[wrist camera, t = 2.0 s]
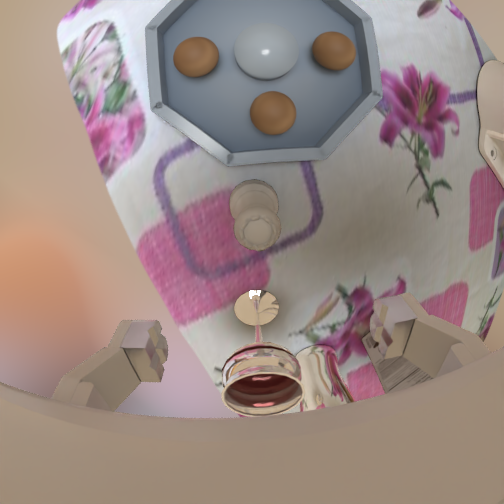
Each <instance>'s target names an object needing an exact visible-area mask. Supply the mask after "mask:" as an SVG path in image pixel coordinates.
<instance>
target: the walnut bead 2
mask: <svg viewBox="0 0 504 504" xmlns="http://www.w3.org/2000/svg"><path fill="white" fill-rule="evenodd" d="M250 118H251V121H252V123H253V124H254V126H255V127H256V128H257V129H258V130H260V131H261V132H263V133H265V134H269V135H278V134H282V133H284V132H286V131H287V130H289V129H290V128H291V127H292V126H293V124H294V122H295V120H296V107H295V105H294V103H293V101H292V100H291V99H290V98H289V97H288V96H287V95H285V94H283V93H281V92H277V91H268V92H265V93H262V94H260V95H259V96H257V97H256V98H255V100H254V101H253V102H252V104H251V107H250Z"/></svg>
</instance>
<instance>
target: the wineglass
mask: <svg viewBox="0 0 504 504" xmlns="http://www.w3.org/2000/svg"><path fill="white" fill-rule="evenodd" d="M278 310H279V305H278V301H277V300H276V298H275V297H274V296H273V295H272V294H270V293H269V292H265V291H262V290H253V291H249V292H246V293H245V294H243V295H241V296H240V297H239V298H238V299H237V301H236V303H235V305H234V311H235V314H236V316H237V317H238V319H239V320H240V321H242V322H244V323H245V324H248V325H255V343H251V344H247V345H245V346H243V347H240V348H238V349H237V350H235V351H234V352H233V353H232V354H231V355H230V356H229V358H228V359H227V361H226V363H225V365H224V367H223V369H222V384H223V387H224V389H223V391H222V401H223V403H224V404H225V405H226V407H228V408H229V409H230V410H232V411H234V412H236V413H239V414H241V415H245V416H252V417H256V416H268V415H278V414H281V413H284V412H287V411H289V410H291V409H292V408H294V407H295V406H297V405H298V404H299V403H300V402H301V401H302V400H303V397H304V394H305V389H304V385H303V384H302V383H301V380H302V371H301V366H300V364H299V362H298V360H297V359H296V357H295V356H294V355H293V354H292V353H291V352H290V350H289V349H287V348H285V347H283V346H282V345H279V344H275V343H271V342H263V338H262V332H261V325H263V324H266V323H268V322H270V321H272V320H273V319H274V318H275V317H276V315H277V313H278Z"/></svg>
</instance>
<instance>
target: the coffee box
mask: <svg viewBox="0 0 504 504" xmlns="http://www.w3.org/2000/svg"><path fill="white" fill-rule="evenodd" d="M361 340H362V342H363V344H364V346H365V348H366V351H367V353H368V355H369V357H370V359H371V361H372V364H373V366H374V368H375V370H376V373H377V375H378V377H379V379H380V382H381V384H382V386H383V389H384V391H385V394H387V393H391V392H394V391H398V390H401V389H404V388H407V387H410V386H414V385H416V384H419V383H422V382H425V381H428V380H431V379H433V377H431V376H430V375H429V374H427V373H426V372H424V371H423V370H422V369H420V368H419V367H417V366H416V365H415V364H413V363H412V362H410V361H409V360H408V359H406V358H405V357H403V355H401V356H397V357H393V358H388V359H384V358H383V356H382V354H381V353H380V351H379V349H378V346H379V342H377V341H375V340H374V339H373V337H372V335H371V332H370V333H368V334H367V335H366V336H365V337H363V338H362V339H361Z"/></svg>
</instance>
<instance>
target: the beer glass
mask: <svg viewBox="0 0 504 504" xmlns="http://www.w3.org/2000/svg"><path fill="white" fill-rule="evenodd" d="M296 359H297V360H298V362H299V364H300V366H301V371H302V380H301V383H302V384H303V385H304V389H305V394H304V397H303V400H302V401H301V402H300V412H303V411H309V410H316V409H322V408H327V407H333V406H338V405H343V404H347V403H352V402H356V401H355V399H354V397H353V395H352V394H351V392H350V390H349V389H348V387H347V385H346V384H345V382H344V380H343V379H342V377H341V375H340V372H339V369H338V362H337V354H336V352H335V350H334V349H333V348H332V347H330V346H327V345H314V346H310V347H308V348H305V349H304V350H302V351H301V352H299V353H298V354H297V355H296Z"/></svg>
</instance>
